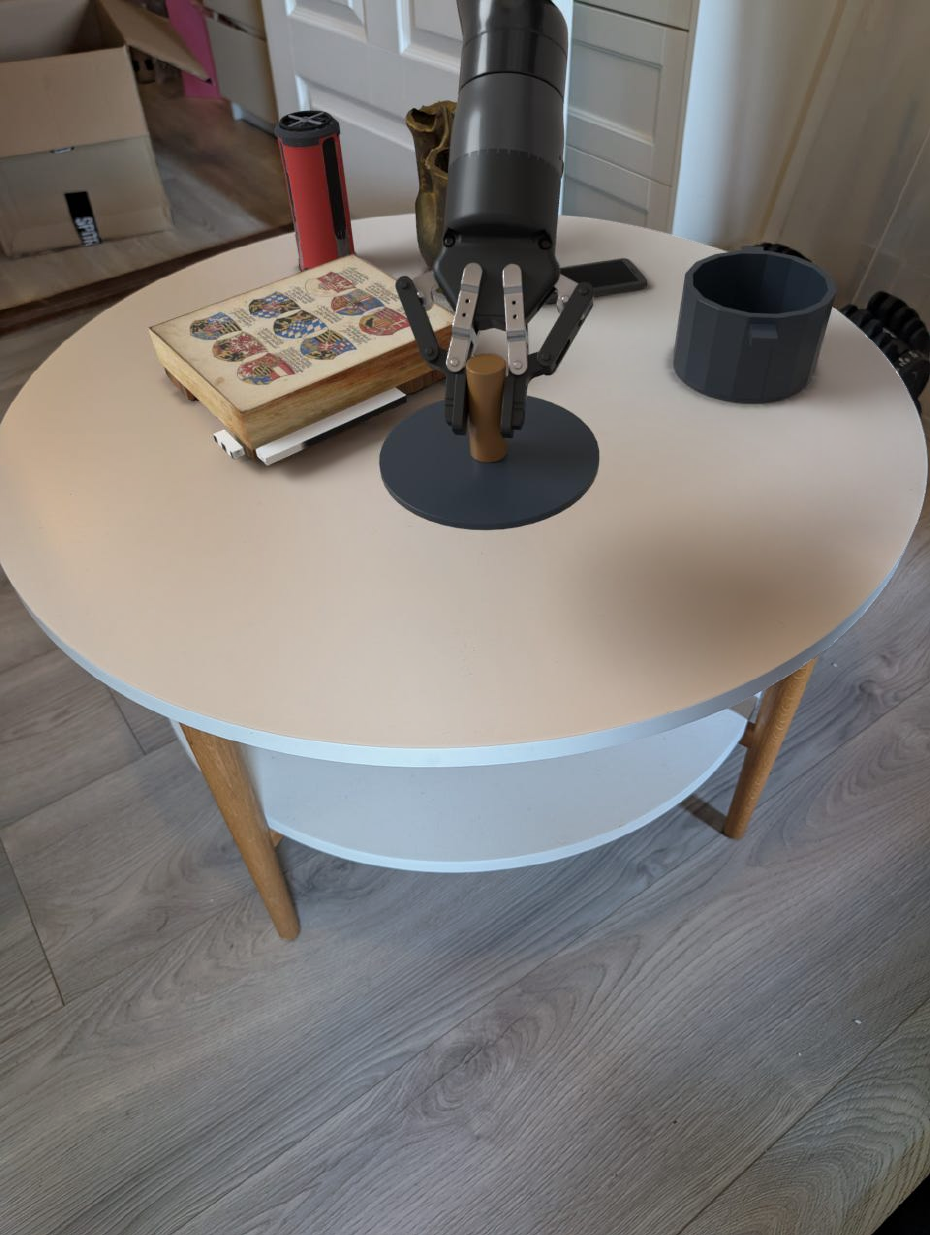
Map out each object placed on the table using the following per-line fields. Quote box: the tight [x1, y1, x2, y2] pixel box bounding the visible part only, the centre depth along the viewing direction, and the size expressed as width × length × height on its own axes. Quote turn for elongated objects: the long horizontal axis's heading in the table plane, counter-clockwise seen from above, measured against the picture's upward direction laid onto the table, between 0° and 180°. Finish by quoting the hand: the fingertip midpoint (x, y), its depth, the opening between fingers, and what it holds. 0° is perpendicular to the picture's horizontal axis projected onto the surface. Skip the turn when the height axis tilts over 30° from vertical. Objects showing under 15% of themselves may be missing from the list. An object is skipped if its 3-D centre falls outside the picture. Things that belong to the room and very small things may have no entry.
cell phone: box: [544, 257, 648, 305], centre depth 109 cm, size 7×14×1 cm, turn 104°
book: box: [147, 253, 455, 466], centre depth 94 cm, size 25×6×28 cm
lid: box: [378, 353, 600, 531], centre depth 60 cm, size 16×16×8 cm
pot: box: [672, 245, 838, 405], centre depth 91 cm, size 15×20×10 cm
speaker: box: [273, 110, 357, 272], centre depth 109 cm, size 8×8×18 cm
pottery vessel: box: [404, 100, 457, 295], centre depth 105 cm, size 25×11×20 cm, turn 12°
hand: (483, 433), depth 58 cm, fingers closed on lid, 2 cm apart
